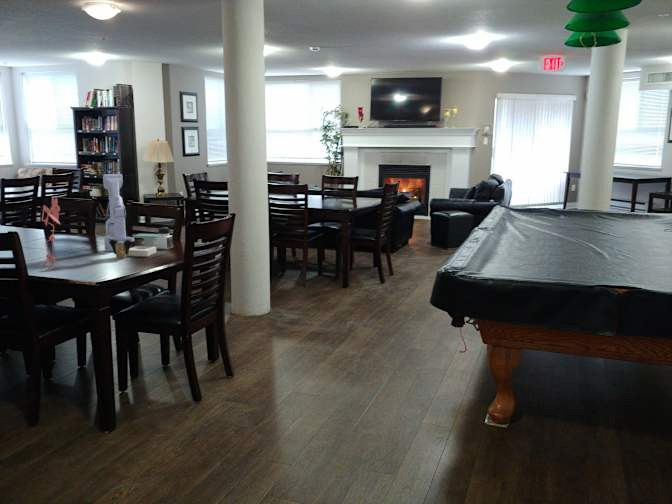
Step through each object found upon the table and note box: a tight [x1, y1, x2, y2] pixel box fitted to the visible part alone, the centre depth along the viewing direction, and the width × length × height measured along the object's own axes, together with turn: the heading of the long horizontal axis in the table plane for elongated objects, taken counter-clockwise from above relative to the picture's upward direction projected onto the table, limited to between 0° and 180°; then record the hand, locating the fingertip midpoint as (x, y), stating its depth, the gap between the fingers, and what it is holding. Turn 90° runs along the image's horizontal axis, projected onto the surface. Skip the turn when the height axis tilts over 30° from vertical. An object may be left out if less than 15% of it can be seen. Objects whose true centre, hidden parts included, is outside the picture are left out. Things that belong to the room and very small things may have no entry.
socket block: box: [127, 245, 157, 258], centre depth 326 cm, size 12×12×4 cm
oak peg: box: [115, 242, 128, 260], centre depth 316 cm, size 4×4×8 cm
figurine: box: [41, 196, 77, 271], centre depth 291 cm, size 15×26×35 cm, turn 39°
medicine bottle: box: [155, 227, 174, 250], centre depth 345 cm, size 7×7×12 cm
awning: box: [133, 233, 161, 247], centre depth 335 cm, size 13×7×10 cm, turn 85°
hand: (121, 254), depth 317 cm, fingers open, 6 cm apart
